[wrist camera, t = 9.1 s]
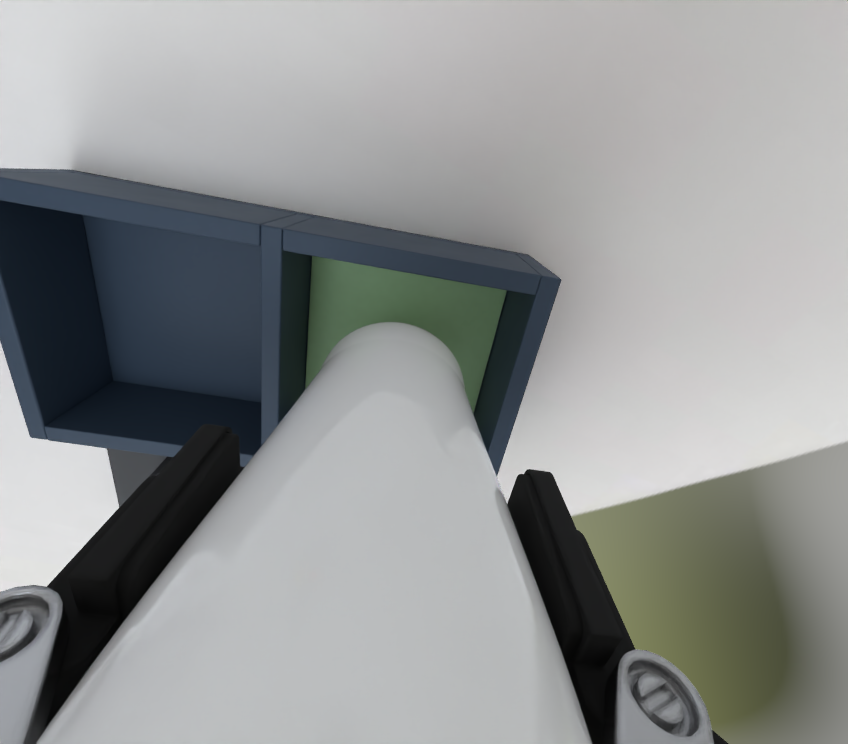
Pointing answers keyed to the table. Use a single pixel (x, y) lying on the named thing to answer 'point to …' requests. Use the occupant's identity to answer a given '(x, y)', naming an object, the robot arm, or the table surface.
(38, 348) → the divided tray
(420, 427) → the drinking glass
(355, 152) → the table surface
